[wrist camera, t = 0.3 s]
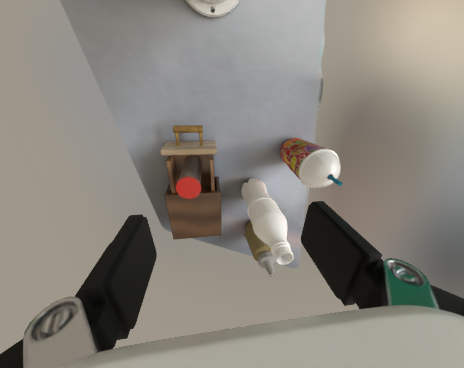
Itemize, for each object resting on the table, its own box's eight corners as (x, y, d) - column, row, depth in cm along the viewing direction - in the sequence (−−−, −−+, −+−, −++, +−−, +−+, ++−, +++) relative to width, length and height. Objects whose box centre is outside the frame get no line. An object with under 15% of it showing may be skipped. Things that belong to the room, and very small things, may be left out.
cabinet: (171, 178, 46) (164, 195, 39) (218, 176, 48) (220, 192, 40) (178, 218, 53) (173, 239, 45) (219, 215, 54) (221, 235, 47)
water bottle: (239, 197, 52) (262, 274, 30) (240, 176, 49) (267, 245, 27) (262, 196, 53) (301, 270, 31) (264, 175, 50) (310, 241, 28)
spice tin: (182, 155, 42) (174, 178, 31) (201, 155, 42) (200, 176, 32) (184, 172, 44) (177, 199, 33) (203, 172, 44) (201, 198, 34)
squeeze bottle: (261, 235, 61) (280, 285, 45) (239, 233, 59) (251, 284, 43) (269, 217, 57) (293, 265, 42) (246, 214, 55) (262, 263, 40)
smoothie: (307, 132, 45) (371, 158, 28) (302, 162, 49) (355, 201, 32) (277, 134, 44) (322, 163, 27) (274, 165, 48) (312, 206, 31)
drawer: (163, 122, 39) (155, 128, 33) (214, 122, 40) (215, 127, 34) (174, 187, 47) (169, 201, 41) (216, 185, 48) (217, 198, 42)
